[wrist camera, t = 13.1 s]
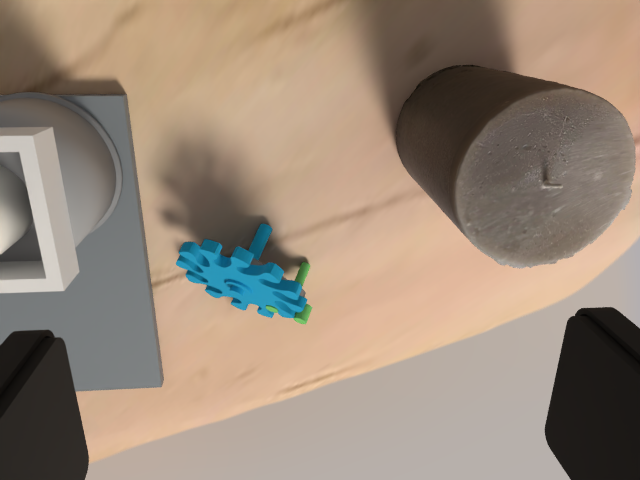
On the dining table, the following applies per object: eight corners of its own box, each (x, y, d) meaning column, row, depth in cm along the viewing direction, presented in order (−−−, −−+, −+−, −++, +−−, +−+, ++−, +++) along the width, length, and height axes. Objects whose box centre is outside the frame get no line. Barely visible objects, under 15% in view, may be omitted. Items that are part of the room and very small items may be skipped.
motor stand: (-89, 90, 35) (-246, 116, 24) (126, 89, 36) (64, 114, 25) (-6, 387, 44) (-94, 502, 33) (163, 379, 45) (130, 487, 34)
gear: (151, 269, 39) (207, 245, 32) (186, 207, 42) (246, 170, 34) (265, 334, 44) (338, 327, 36) (290, 275, 47) (363, 256, 39)
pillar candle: (406, 58, 37) (484, 79, 23) (536, 71, 38) (686, 98, 24) (386, 189, 40) (444, 276, 27) (505, 198, 42) (620, 285, 28)
